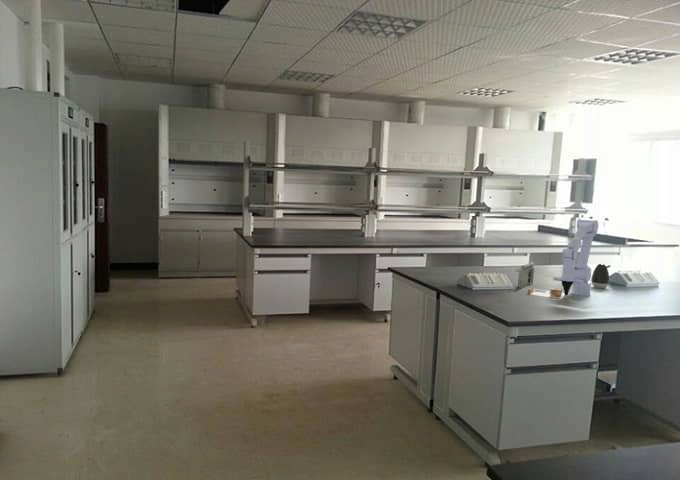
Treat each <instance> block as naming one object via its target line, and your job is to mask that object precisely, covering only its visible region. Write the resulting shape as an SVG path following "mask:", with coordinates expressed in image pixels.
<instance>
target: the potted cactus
mask: <svg viewBox="0 0 680 480" xmlns="http://www.w3.org/2000/svg"><path fill="white" fill-rule="evenodd" d="M610 267H611V265H610V264H609V265H606V264H604V263H598V264H597V265H596V266H595V268H594V270H593V272H592V274H591V278H590V281H591V282H590V283H591V286H593V287H594V288H596V289H602V290H603V288H604V289H606V288H608V286H609V284H610V274H609V270H608V269H609V268H610Z"/></svg>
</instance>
